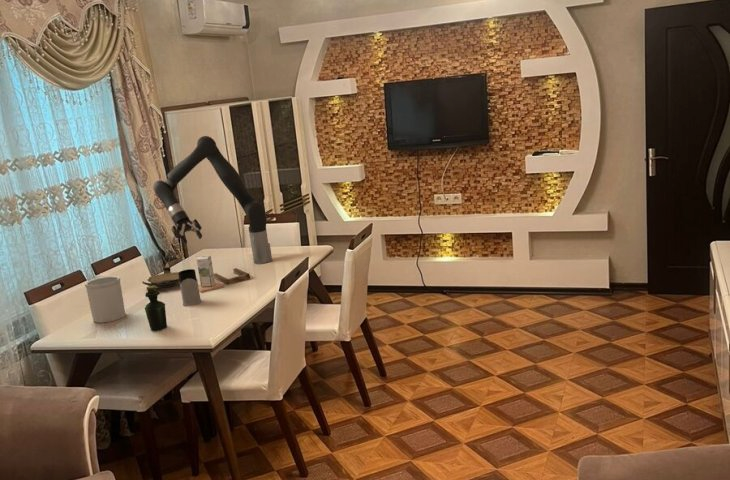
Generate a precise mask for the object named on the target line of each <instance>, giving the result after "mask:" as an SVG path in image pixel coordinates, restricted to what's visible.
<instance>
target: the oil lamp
mask: <svg viewBox="0 0 730 480" xmlns="http://www.w3.org/2000/svg"><path fill="white" fill-rule="evenodd" d="M162 271H163V273H161V274H155V275H152V276H151V275H150V276H149V277H148V279H147V282H145V281H142V282H141V283H142V284H143V285H146V286H147V287H148V286H153V285H155V286H156V288H160V289H161V288H167V287H168V288H169V287H173V286H176V285H177V284H180V280H179V275H178V273H179V272H180V271H176V272H174V271H173V272H171V267H170V264H169V263H168V262H167V263H166V264H165V266H164V267H163V268H162Z"/></svg>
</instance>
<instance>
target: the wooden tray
mask: <svg viewBox="0 0 730 480" xmlns="http://www.w3.org/2000/svg"><path fill="white" fill-rule="evenodd" d="M232 270H233V274H234V275H237V276H233V277H230V278H227V277H225V276H222V275H220V274H218V273H216V272H215V273H214V278H215V280H216V281H218V282H220V283H222V284H224V285H226V286H228V285H232V284H236V283H239V282H243V281H247V280H250V279H251V275H250V273H248V272H247V271H243V270H241V269H239V268H232Z"/></svg>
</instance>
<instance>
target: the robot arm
mask: <svg viewBox="0 0 730 480" xmlns="http://www.w3.org/2000/svg"><path fill="white" fill-rule="evenodd" d="M205 159H207V160H208V161H209V163H210V164H211V166H212V167H213V169H214V170H215V172H216V175H217V176H218V178H219V179H220V181H221V182H222V184H223V185H224V186H225V187H226V189H227V190H228V191H229V192H230V193H231V194H232V196H233V197H234V198H235V199H236V200H237V202H238V203H239V205H240V206H241V209H242V210H243V212H244V213H245V215H246V216H247V217H248V223H249V226H248V232H249V239H250V246H251V253H252V259H253V263H254V264H257V265H260V264H261V265H262V264H267V263H269V262H273V255H272V250H271V249H272V248H271V243H269V239H268V231H267V218H266V210H265V208H264V205H263V204H262V203H260V202H259V201H257V200H256V199H255V198H254V197H253V196H252V195H251V194H250V192H249V191H248V189H247V187H246V185H245V182H244V180H243V178H242V177H241V175H240V174H239V173H238V171H237V170H236V168H235V167H234V166H232V164H231V163H230V162H229V160H227V159H226V157H224V155H223V154H222V153H221V151H220V149H219V148H218V146H217V143H216V141H215V140H214V139H213V138H212V137H211V136H207V135H203V136H201V137H199V138H198V140H197V143H196V147H195V149H194V150H192V152H190V154H189V155H188V156H187V157H185V158H184V159H183V160H181V161H180V162H179V163H177V164H176V165H175V166H174V167H173V168H172V169H171V170H170V171H169V172H168V173H167V179H166V180H165V181H164V180H157V181H155V182H154V184H153V186H152V188H153V191H154V193H155V195H156V196H157V198H159V200H160V201H161V202H162V204H163V206H164V207H165V209H166V211H167V213H168V215H169V217H170V218H171V220H172V222H173V223H174V225H173V226H171V231H172V233H173V235H174V238H175V239H178V238H179V239H180V240H181V243H183V244H184V245H186V244H188V240H187V238H186V237H185V235H184V233H187V232H190V231H191V232H193V233H195V234H196V236H197V237H198V239H199V240H201V239H202V238H203V234H202V233H201V230H202V228H203V227H202V226H201V224H200V223H199V222H198V220H197V219H196V218H195V219H194V220H192V221H191V220H190V218H189V216H188V214H187V212H186V210H185V209H184V207H183V206H182V205H181V203H180V202H179V200H178V199H177V198H176V196H175V195H174V194H173V192H174V191H175V189H176V188H177V186H178V185H179V183H180V182H181V181H182V180H184V179H185V177H186V176H187V175H189V173H190V172H192V170H194V169H195V167H197V165H198V164H200V163H201V162H202V161H204V160H205Z"/></svg>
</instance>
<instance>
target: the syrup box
mask: <svg viewBox="0 0 730 480" xmlns="http://www.w3.org/2000/svg"><path fill="white" fill-rule="evenodd" d="M212 261H213V260H212V256H211V255H209V254H208V255H201V256H200V255H199V256H198V257H197V258H196V265H197V270H198V275H199V282H200V284H201V287H210V286H213V285H214V284H215V278H214V274H215V273H214V267H213V262H212Z"/></svg>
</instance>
